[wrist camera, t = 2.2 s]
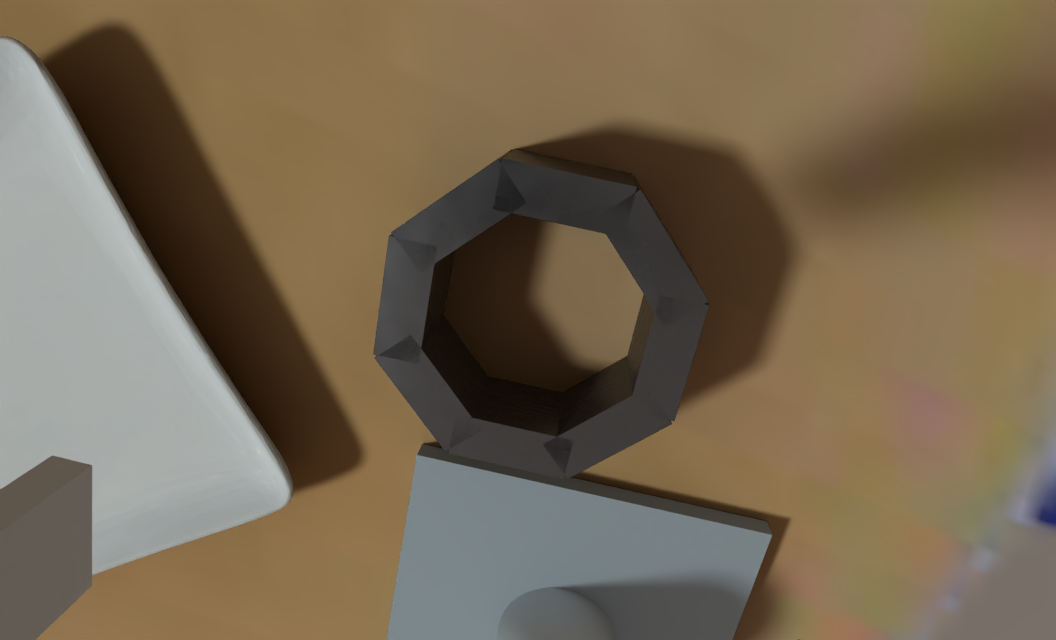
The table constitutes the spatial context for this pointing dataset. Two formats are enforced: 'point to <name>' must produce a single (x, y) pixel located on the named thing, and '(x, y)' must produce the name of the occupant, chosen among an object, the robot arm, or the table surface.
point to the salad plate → (109, 347)
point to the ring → (520, 410)
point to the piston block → (564, 559)
